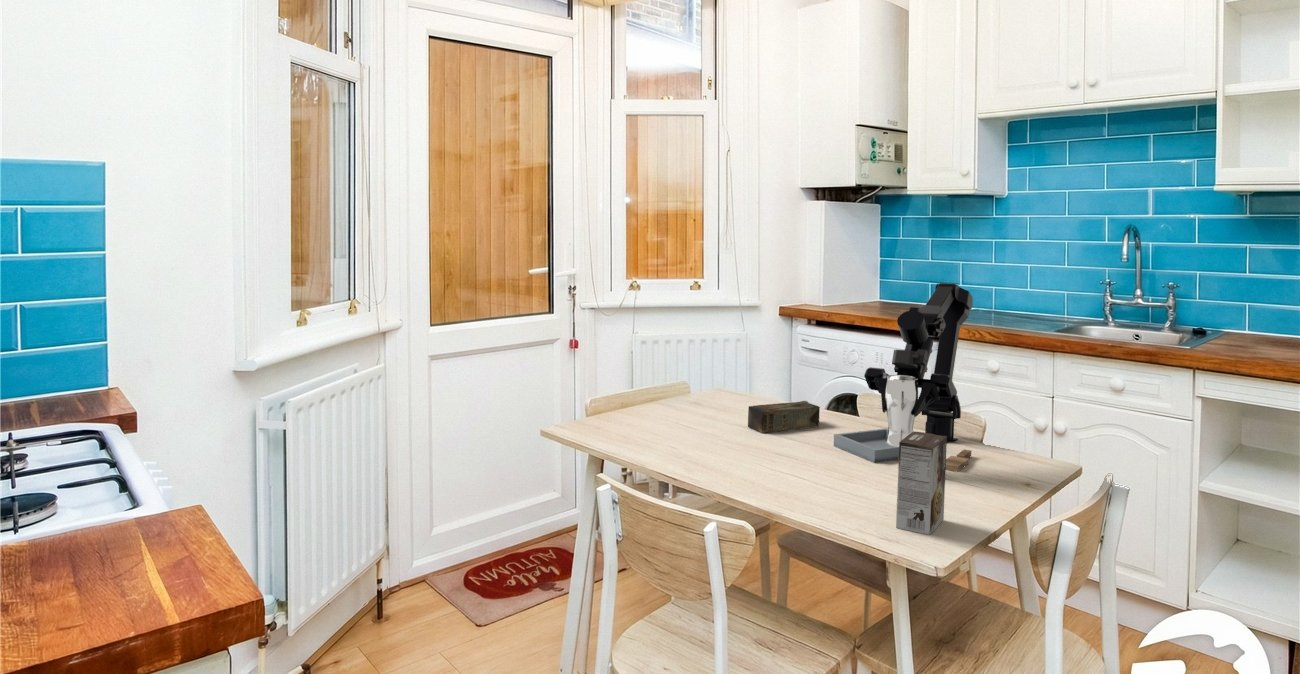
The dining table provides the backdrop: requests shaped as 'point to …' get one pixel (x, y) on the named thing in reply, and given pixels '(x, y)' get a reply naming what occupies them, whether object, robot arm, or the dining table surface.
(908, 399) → the silver metal cup
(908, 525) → the coffee box
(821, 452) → the dining table surface
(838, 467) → the dining table surface
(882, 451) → the tray
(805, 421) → the beverage carton
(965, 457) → the scraper paddle
